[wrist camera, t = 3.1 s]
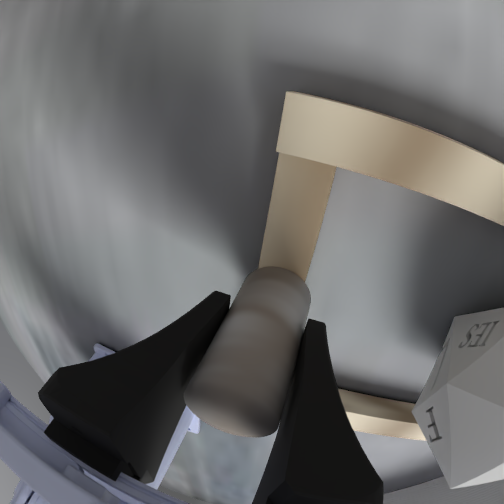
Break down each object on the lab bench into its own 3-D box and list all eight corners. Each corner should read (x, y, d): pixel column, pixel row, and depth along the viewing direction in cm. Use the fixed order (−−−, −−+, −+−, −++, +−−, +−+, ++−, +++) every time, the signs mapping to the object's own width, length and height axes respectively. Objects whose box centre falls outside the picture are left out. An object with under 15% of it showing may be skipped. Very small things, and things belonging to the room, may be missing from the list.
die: (497, 224, 10) (397, 428, 7) (620, 308, 5) (563, 521, 2) (449, 316, 16) (362, 448, 13) (542, 376, 11) (473, 515, 8)
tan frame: (231, 377, 19) (189, 468, 13) (279, 88, 10) (190, 93, 4) (487, 427, 15) (493, 504, 10) (623, 246, 7) (681, 322, 1)
